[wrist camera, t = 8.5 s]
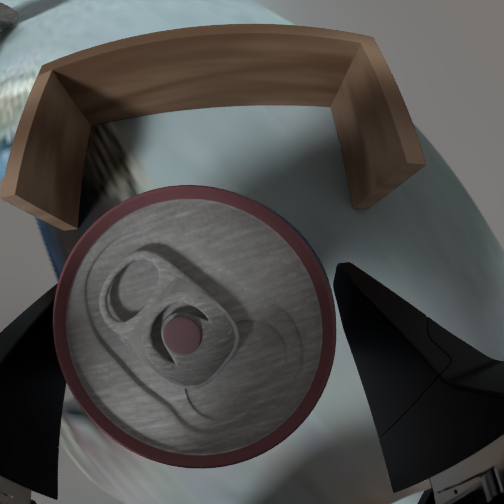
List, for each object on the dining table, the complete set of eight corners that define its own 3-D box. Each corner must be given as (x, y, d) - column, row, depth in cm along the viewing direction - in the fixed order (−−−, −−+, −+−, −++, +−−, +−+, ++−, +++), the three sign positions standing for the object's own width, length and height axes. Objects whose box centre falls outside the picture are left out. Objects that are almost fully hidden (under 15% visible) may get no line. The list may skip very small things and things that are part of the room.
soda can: (301, 302, 17) (423, 299, 5) (229, 391, 16) (220, 530, 4) (210, 229, 18) (169, 103, 6) (139, 318, 16) (-6, 336, 5)
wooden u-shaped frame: (368, 208, 18) (426, 164, 12) (64, 230, 17) (0, 198, 10) (341, 98, 20) (372, 37, 13) (81, 119, 19) (42, 65, 12)
